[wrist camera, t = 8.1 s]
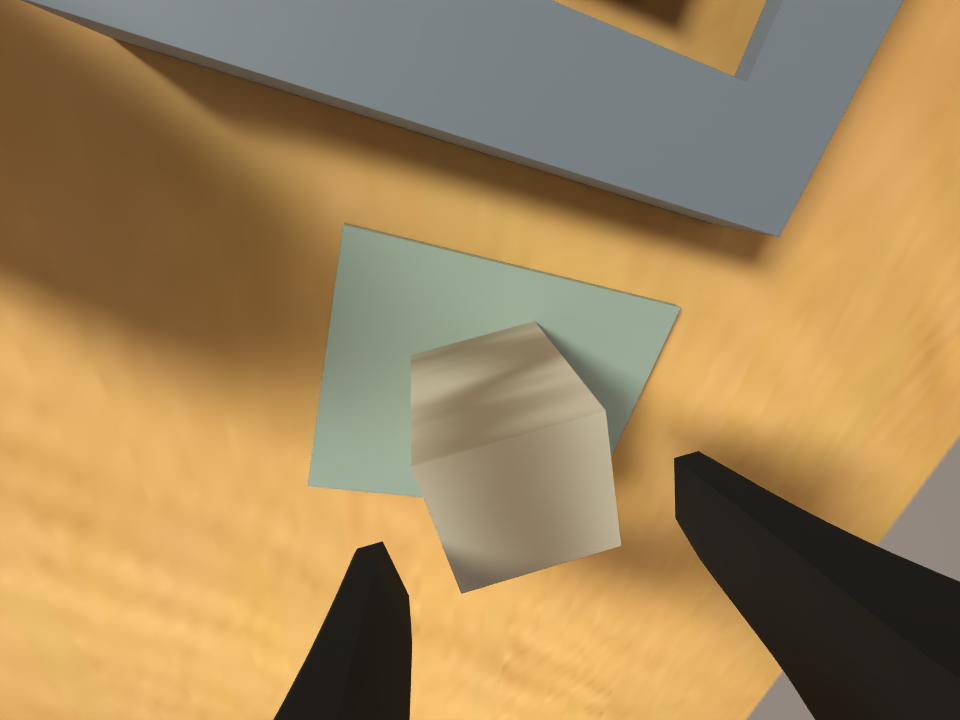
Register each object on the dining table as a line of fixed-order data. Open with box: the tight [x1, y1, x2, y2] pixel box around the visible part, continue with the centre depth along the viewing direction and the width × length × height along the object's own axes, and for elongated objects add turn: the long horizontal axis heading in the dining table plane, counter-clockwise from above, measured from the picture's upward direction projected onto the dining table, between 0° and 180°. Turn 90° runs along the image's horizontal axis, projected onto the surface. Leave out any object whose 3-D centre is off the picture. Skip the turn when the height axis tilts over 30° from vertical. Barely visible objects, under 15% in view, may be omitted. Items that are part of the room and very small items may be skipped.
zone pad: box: [308, 223, 680, 497], centre depth 16 cm, size 12×10×1 cm
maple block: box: [410, 321, 621, 594], centre depth 13 cm, size 4×4×6 cm
